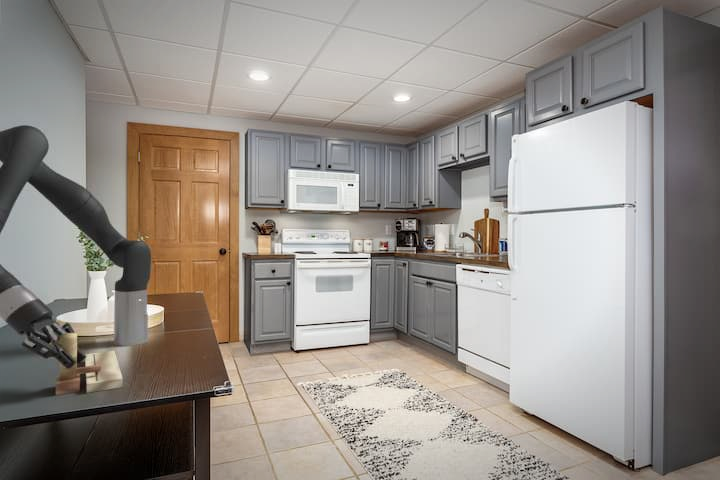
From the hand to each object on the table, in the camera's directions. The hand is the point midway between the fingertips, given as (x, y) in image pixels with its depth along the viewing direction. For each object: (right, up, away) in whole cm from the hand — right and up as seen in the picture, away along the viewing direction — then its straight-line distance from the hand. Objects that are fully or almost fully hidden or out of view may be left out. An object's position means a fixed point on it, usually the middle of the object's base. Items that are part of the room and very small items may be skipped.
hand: (77, 362), depth 96 cm
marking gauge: (0, -6, +1) cm, 6 cm away
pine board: (-1, -6, +11) cm, 12 cm away
